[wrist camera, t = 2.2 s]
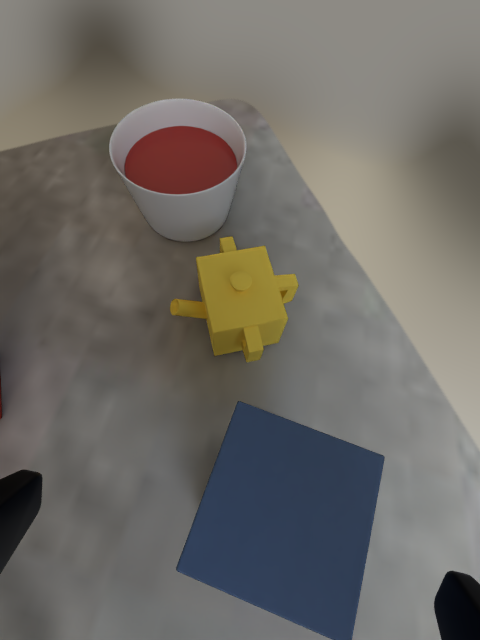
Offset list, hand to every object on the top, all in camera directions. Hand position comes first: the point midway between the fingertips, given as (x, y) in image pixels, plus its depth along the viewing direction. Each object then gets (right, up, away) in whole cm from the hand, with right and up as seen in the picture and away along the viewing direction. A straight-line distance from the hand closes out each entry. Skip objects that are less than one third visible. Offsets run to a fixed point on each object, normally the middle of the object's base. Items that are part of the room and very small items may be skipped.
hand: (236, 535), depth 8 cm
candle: (-4, +14, +22) cm, 26 cm away
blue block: (+1, -5, +13) cm, 14 cm away
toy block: (0, +5, +18) cm, 18 cm away
